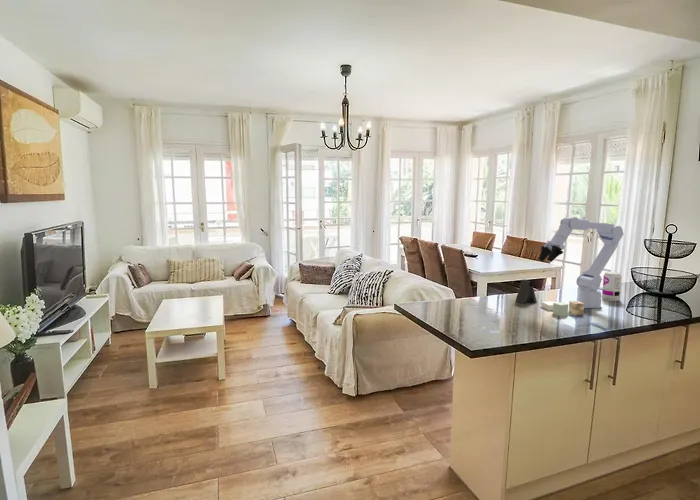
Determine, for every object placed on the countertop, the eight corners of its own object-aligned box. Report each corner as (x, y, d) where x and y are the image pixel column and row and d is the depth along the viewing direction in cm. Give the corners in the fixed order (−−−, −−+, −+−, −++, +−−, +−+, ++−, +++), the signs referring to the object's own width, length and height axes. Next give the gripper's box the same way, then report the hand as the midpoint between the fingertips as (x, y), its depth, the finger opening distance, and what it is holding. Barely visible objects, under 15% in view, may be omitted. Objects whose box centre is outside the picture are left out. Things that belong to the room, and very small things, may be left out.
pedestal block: (554, 307, 202) (555, 301, 202) (562, 310, 195) (562, 305, 195) (541, 307, 202) (541, 301, 202) (548, 311, 195) (548, 305, 195)
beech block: (577, 312, 192) (578, 301, 192) (583, 314, 188) (584, 303, 187) (568, 312, 192) (569, 301, 192) (574, 314, 188) (574, 303, 187)
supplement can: (604, 300, 213) (606, 273, 211) (599, 297, 221) (601, 271, 219) (621, 302, 211) (624, 274, 209) (616, 298, 219) (618, 272, 217)
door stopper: (528, 300, 216) (529, 278, 214) (536, 302, 210) (538, 280, 209) (515, 301, 213) (516, 279, 211) (523, 304, 207) (524, 282, 206)
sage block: (560, 313, 191) (560, 302, 190) (567, 315, 186) (568, 304, 186) (552, 313, 189) (553, 302, 189) (560, 316, 185) (560, 305, 184)
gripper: (545, 234, 201) (530, 255, 200) (562, 232, 186) (546, 256, 186) (556, 241, 201) (541, 263, 201) (573, 241, 187) (558, 264, 186)
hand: (544, 260), depth 193 cm, fingers open, 7 cm apart
